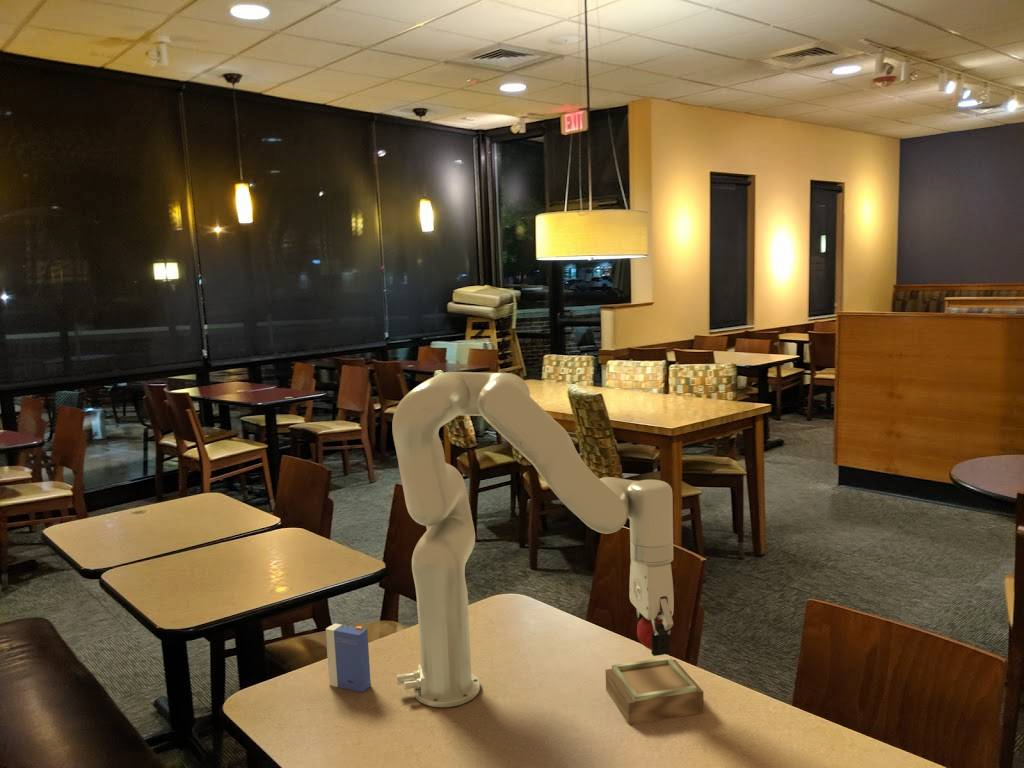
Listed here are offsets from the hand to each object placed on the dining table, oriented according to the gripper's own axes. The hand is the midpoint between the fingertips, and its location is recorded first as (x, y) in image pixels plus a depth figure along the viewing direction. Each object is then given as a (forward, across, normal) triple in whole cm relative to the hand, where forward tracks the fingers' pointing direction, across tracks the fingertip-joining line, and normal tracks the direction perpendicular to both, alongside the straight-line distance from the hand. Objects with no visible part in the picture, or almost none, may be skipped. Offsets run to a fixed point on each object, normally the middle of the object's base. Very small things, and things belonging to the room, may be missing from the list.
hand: (653, 644), depth 143 cm
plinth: (+11, 0, 0) cm, 11 cm away
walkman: (+11, -21, -54) cm, 59 cm away
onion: (+1, 0, 0) cm, 1 cm away
